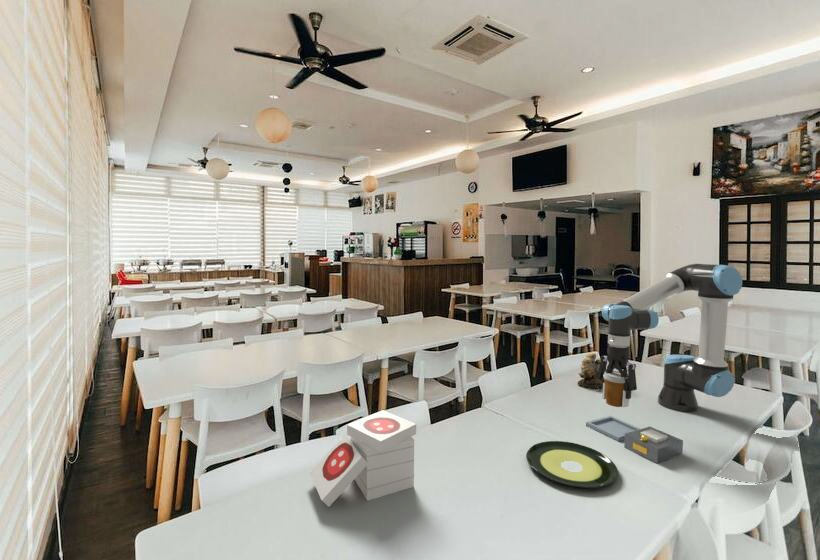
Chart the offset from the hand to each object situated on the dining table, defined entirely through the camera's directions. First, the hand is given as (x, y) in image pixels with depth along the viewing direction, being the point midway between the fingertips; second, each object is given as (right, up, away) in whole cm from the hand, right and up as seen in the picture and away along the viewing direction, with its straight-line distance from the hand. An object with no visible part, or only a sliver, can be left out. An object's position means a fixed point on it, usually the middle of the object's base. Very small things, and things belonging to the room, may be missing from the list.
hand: (615, 402), depth 158 cm
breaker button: (+6, -12, -15) cm, 20 cm away
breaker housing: (+6, -13, -15) cm, 20 cm away
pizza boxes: (-94, -14, -36) cm, 102 cm away
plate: (-28, -14, -26) cm, 41 cm away
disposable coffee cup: (0, -1, 0) cm, 1 cm away
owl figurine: (+14, -7, +51) cm, 54 cm away
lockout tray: (0, -11, +1) cm, 11 cm away
